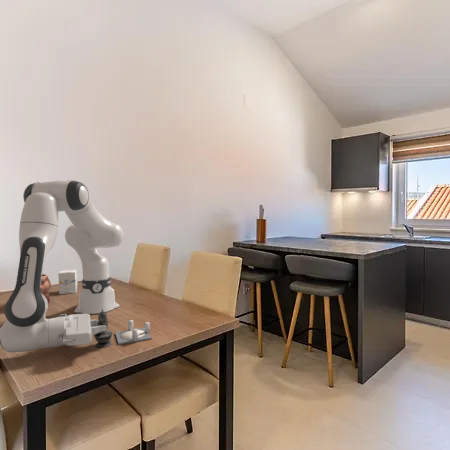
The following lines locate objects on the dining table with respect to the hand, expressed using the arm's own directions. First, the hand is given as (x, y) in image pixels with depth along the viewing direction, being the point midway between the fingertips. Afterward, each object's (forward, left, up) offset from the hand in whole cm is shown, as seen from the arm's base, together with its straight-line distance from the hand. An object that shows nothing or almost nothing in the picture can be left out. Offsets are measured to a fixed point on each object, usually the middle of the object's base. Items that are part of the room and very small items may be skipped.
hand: (105, 324), depth 113 cm
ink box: (-85, -14, -7) cm, 86 cm away
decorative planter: (-66, -27, -7) cm, 72 cm away
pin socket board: (-3, +9, -7) cm, 12 cm away
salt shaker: (0, -1, -7) cm, 7 cm away
